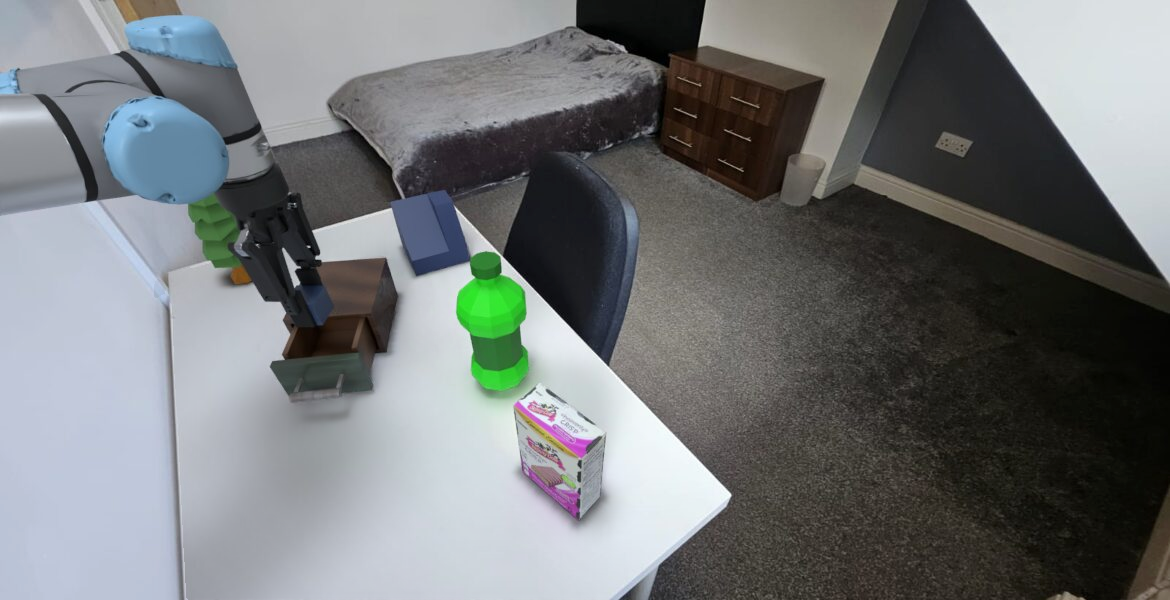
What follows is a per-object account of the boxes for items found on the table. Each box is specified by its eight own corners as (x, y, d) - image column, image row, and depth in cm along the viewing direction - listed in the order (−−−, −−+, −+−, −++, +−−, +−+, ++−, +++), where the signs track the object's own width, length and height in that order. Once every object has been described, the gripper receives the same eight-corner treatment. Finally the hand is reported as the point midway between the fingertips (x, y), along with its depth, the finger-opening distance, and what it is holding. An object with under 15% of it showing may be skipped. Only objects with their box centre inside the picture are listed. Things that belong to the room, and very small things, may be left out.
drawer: (367, 411, 74) (352, 379, 69) (281, 421, 72) (259, 389, 67) (386, 328, 88) (374, 296, 82) (314, 335, 86) (298, 302, 81)
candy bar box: (519, 473, 67) (510, 404, 57) (544, 449, 70) (539, 379, 60) (578, 524, 62) (580, 459, 51) (602, 497, 65) (608, 429, 54)
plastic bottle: (524, 406, 76) (512, 288, 60) (462, 396, 77) (433, 277, 61) (539, 360, 84) (532, 244, 67) (482, 352, 85) (461, 236, 68)
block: (294, 325, 69) (282, 303, 67) (307, 306, 72) (296, 285, 70) (322, 325, 69) (312, 304, 67) (334, 306, 72) (324, 285, 70)
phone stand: (416, 276, 101) (403, 228, 93) (403, 247, 109) (389, 201, 101) (469, 260, 106) (461, 214, 98) (453, 234, 114) (444, 189, 106)
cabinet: (386, 352, 84) (371, 312, 78) (304, 360, 83) (282, 320, 76) (398, 296, 96) (386, 257, 90) (327, 302, 94) (309, 262, 88)
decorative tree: (265, 285, 98) (188, 146, 78) (213, 293, 95) (121, 152, 76) (273, 258, 105) (204, 124, 85) (225, 265, 102) (142, 129, 83)
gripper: (232, 207, 49) (313, 357, 64) (307, 140, 62) (359, 278, 77) (160, 205, 49) (258, 356, 64) (249, 139, 62) (313, 278, 77)
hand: (313, 313), depth 71 cm, fingers closed on block, 4 cm apart
